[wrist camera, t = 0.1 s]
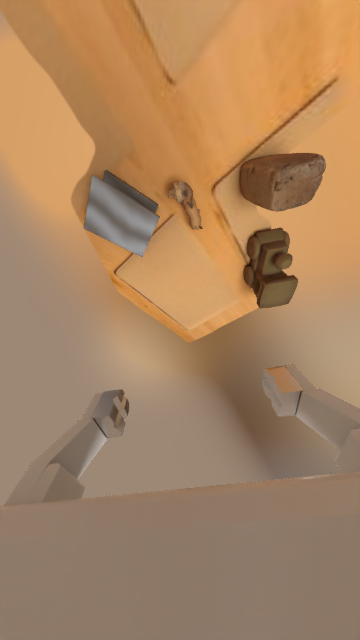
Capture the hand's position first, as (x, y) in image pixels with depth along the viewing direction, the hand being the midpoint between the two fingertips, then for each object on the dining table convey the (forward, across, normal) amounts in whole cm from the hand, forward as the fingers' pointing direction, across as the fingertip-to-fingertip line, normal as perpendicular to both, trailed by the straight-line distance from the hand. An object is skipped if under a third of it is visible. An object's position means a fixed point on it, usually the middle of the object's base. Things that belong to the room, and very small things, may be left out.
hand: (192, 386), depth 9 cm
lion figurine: (+50, -5, -15) cm, 52 cm away
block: (+49, -24, -18) cm, 58 cm away
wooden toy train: (+57, -29, +5) cm, 64 cm away
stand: (+50, +13, -16) cm, 54 cm away
